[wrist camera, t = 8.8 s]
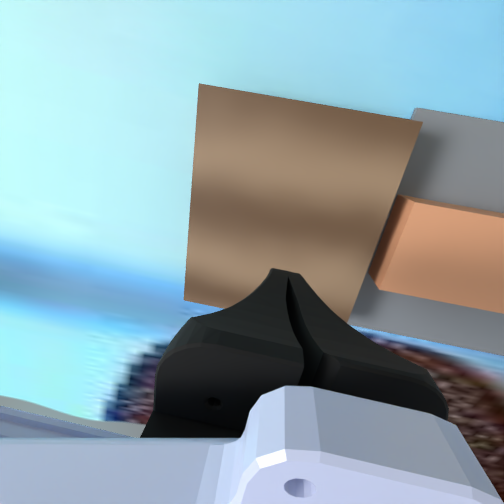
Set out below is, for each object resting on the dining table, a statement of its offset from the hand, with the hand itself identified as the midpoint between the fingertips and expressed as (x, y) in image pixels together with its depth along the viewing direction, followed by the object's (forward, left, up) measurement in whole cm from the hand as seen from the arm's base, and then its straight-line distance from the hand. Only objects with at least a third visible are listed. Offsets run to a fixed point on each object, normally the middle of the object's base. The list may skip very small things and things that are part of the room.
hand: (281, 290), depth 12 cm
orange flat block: (+1, -12, -9) cm, 14 cm away
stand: (+1, 0, -9) cm, 9 cm away
